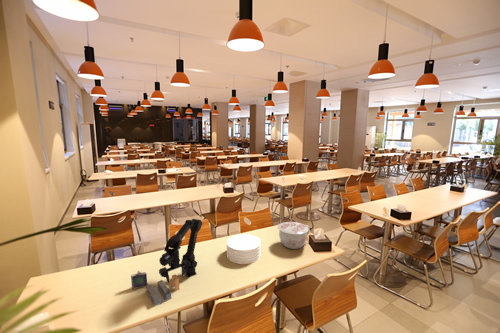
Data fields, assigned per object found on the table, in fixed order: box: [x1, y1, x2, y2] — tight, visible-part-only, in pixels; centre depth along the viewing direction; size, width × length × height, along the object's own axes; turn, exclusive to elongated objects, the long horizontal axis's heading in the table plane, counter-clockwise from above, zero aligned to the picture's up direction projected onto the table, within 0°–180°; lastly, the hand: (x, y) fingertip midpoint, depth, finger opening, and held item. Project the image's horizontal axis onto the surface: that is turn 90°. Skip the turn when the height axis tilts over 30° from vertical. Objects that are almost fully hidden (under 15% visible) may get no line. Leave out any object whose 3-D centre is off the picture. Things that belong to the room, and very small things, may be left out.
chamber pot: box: [277, 221, 311, 250], centre depth 209 cm, size 28×28×21 cm
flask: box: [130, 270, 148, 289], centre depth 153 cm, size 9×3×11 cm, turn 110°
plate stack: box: [226, 233, 262, 265], centre depth 193 cm, size 28×28×12 cm
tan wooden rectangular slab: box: [171, 273, 180, 291], centre depth 152 cm, size 2×6×8 cm, turn 39°
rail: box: [145, 279, 172, 307], centre depth 146 cm, size 10×16×4 cm, turn 39°
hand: (175, 279), depth 152 cm, fingers open, 9 cm apart
